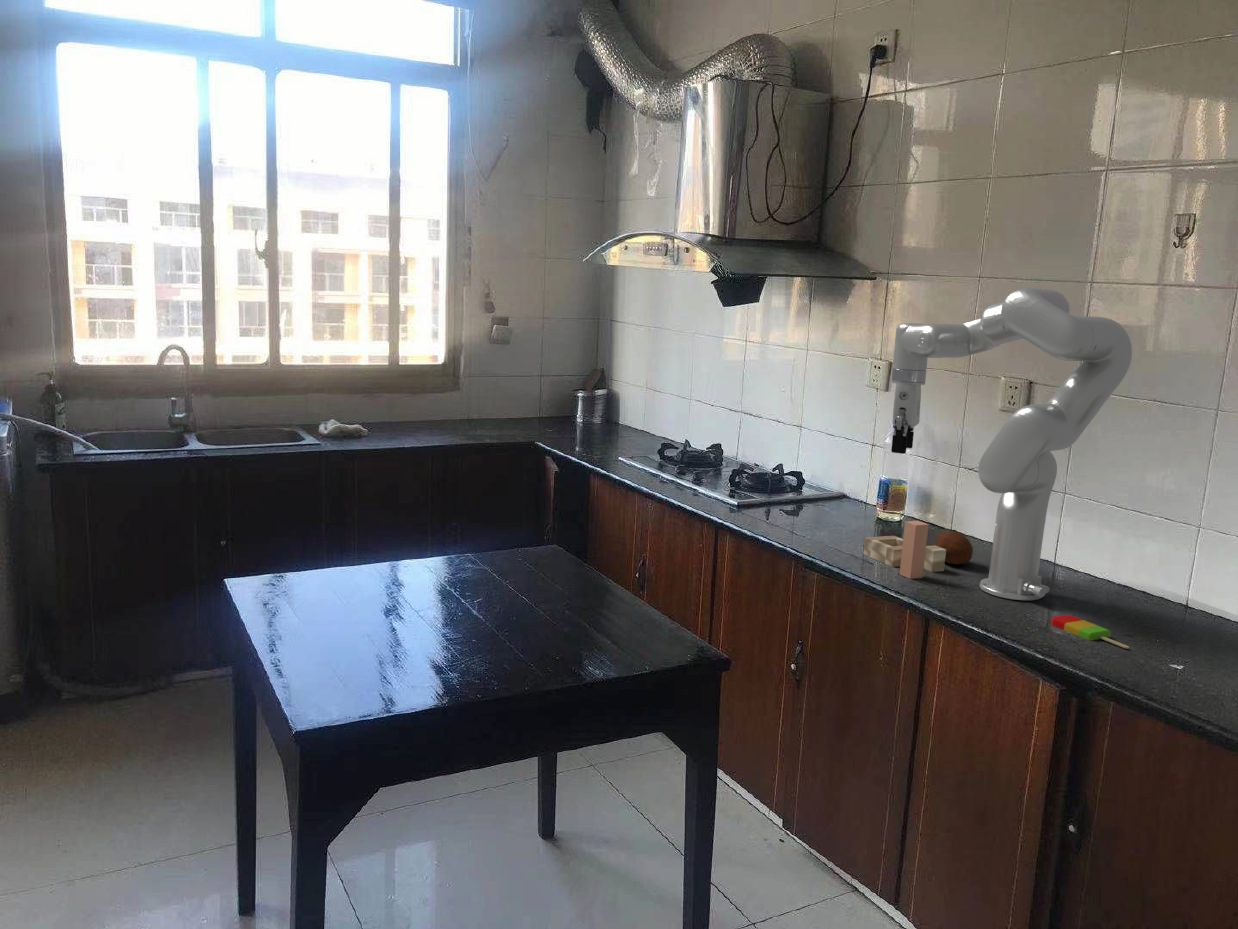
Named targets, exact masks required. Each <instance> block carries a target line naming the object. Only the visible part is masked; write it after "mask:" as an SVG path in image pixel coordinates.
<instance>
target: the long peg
mask: <svg viewBox="0 0 1238 929" xmlns="http://www.w3.org/2000/svg"><path fill="white" fill-rule="evenodd" d="M929 528H930V527H929V524H928V523H926V522H923V521H920V520H907V521H905V522H904V531H903V538H902V539H903V547H902V556H901V565H900V566H899V567H900V568H899V575H900V576H903V577H905V578H908V579H922V578H923V577H924V570H925V569H924V562H925V553H926V546H928V545H927V543H928V536H929V535H928V534H929Z"/></svg>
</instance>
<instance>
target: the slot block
mask: <svg viewBox="0 0 1238 929" xmlns="http://www.w3.org/2000/svg"><path fill="white" fill-rule="evenodd" d="M902 547H903V538H901V537H898V536H896V535H885V536H871V537H869V536H868V537H865V538H864V545H863V555H865V556H867V557H869V558H871V559H873V560H876V561H878V562H881V563H883V564H884V565H887V566H890V567H892V568H894V567H900V565H901V556H902Z"/></svg>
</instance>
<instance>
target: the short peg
mask: <svg viewBox="0 0 1238 929" xmlns="http://www.w3.org/2000/svg"><path fill="white" fill-rule="evenodd" d="M945 556H946V549H943V548H941V547H938V546H935V545H926V553H925V562H924V570H926V571H928V572H931V573H936V572H937V573H938V572H944V571H945V564H946V563H945V562H946V561H945Z"/></svg>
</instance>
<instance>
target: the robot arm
mask: <svg viewBox="0 0 1238 929" xmlns="http://www.w3.org/2000/svg"><path fill="white" fill-rule="evenodd" d="M1070 310H1071V309H1070V304H1069V301H1068V299H1067V298H1066V296H1064V295H1063V294H1062V293H1061V292H1059V291H1058V290H1054V289H1051V288H1050V289H1049V288H1034V287H1033V288H1032V287H1024V288H1023V287H1022V288H1018V289H1015V290H1014V291H1012V292H1011V293H1009V294H1008V296H1007V297H1005V299H1003V301H1001V302H997V303H994V304H992V305H989V306H987V307H986V308H984V310H983V312H982V314H981V318H978V319H974V320H970V321H967V322H963V323H928V324H927V323H926V324H924V323H915V322H914V323H913V322H903V323H899V324H898V325H897V327H896V329H895V338H894V347H893V348H894V350H893V361H892V371H891V381H890V382H891V383H892V384H895V391H894V399H893V400H894V401H893V409H892V424H893V426H894V428H893V432H892V433H893V434H892V438H891V439H892V440H891V441H892V442H891V450H890V452H891V453H893V454H901V455H902V454H906V453H907V449H912V448H913V446H914V445H913V444H914V434H915V431H914V428H915V427H916V426H918V425H919V424H920V418H921V417H920V416H921V399H922V386H924V385H926V379H927V366H928V358H929V359H942V358H943V359H944V358H945V359H946V358H947V359H948V358H949V359H950V358H951V359H952V358H954V359H955V358H964V357H968V356H972V355H977V354H980V353H984V352H986V351H990V350H993V349H995V348H997V347H1000V346H1001V345H1004V344H1007V343H1011V342H1014V341H1018V340H1022V339H1023V340H1025V341H1026V342H1028V343H1030V344H1032V345H1033V346H1034V347H1036V348H1038V349H1039V350H1041V351H1042V352H1044V353H1046V354H1047V355H1049V356H1051V357H1052V358H1055V359H1058V360H1061V361H1064V362H1065V361H1067V362H1081V363H1080V365H1079V366H1078V367H1077V368H1076V369H1075V370H1074V371H1073V372H1071V373H1069V375H1068V376H1067V377H1066V378H1065V379H1064V381H1063V382H1062V383H1061V384H1060V386H1059V388H1058V389H1057V390H1056V392H1054V394H1053V396H1051V398H1050V399H1049V400H1047V401H1046V402H1043V403H1033V404H1028V405H1024V406H1023V407H1022V406H1021V408H1018V409H1017V410H1016V411H1015V412H1014V413H1012V414H1011V415H1010V416H1009V417H1008V419H1007V420H1006V422H1005V423H1004V424H1003V425H1002V427H1001V428H1000V430H999V431H998V432H997V434H996V435H995V437H994V438H993V440H991V442H990V443H989V445H988V447H987V448H986V450H985V451H984V453H983V454H982V456H981V457H980V461H979V462H978V464H979V465H978V468H977V471H978V478H979V481H980V482H981V484H982V486H983V487H984V488H985V489H986V490H988V491H990V492H992V493H995V494H1000V497H999V501H998V504H997V509H996V517H995V525H994V533H993V540H992V547H991V556H990V562H989V563H990V564H989V570H988V571H989V573H988V577H985V578H983V579H981V580H980V582H979V588H980V589H981V590H982V591H983V592H985V593H987V594H990V595H992V596H996V597H999V598H1003V599H1008V600H1016V601H1038V600H1040V599H1042V598H1044V597H1045V595H1046V594H1048V593H1049V592H1050V590H1051V589H1050V587H1049V586H1046V585H1045V584H1042V579H1043V578H1042V577H1043V576H1040V575H1039V569H1040V564H1041V563H1040V561H1041V556H1042V549H1043V548H1042V547H1043V541H1044V533H1045V526H1046V525H1045V524H1046V520H1047V514H1048V513H1047V512H1048V507H1049V501H1050V498H1051V495H1052V491H1053V488H1054V486H1055V482H1056V479H1057V474H1058V464H1057V460H1056V458H1055V456H1054V454H1053V453H1052V452H1053V451H1054V452H1056V451H1061V450H1065V449H1068V448H1070V447H1072V446H1073V445H1074V444H1075V443H1076V441H1077V440H1078V439H1080V436H1082V434H1083V432H1084V431H1085V430H1086V428H1087V427H1088V425H1090V423H1092V421H1093V419H1094V418H1095V417H1096V415H1097V414H1098V412H1100V410H1101V408H1102V407H1103V406H1104V404H1105V403H1106V401H1107V400H1108V399H1109V398H1110V397H1111V396H1112V394H1113V393H1114V392H1115V390H1116V389H1117V388H1118V387H1119V386H1120V384H1121V382H1123V380H1124V378H1125V377H1126V375H1127V373H1128V371H1129V369H1130V366H1131V361H1132V356H1133V349H1132V348H1133V347H1132V342H1131V338H1130V336H1129V333H1128V332H1127V331H1126V329H1125V328H1124V327H1123V326H1122V324H1120V323H1118V322H1117V321H1116V320H1114V319H1111V318H1108V317H1102V316H1085V315H1084V316H1083V315H1081V316H1079V315H1077V316H1076V315H1072V314H1071V313H1070Z"/></svg>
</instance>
